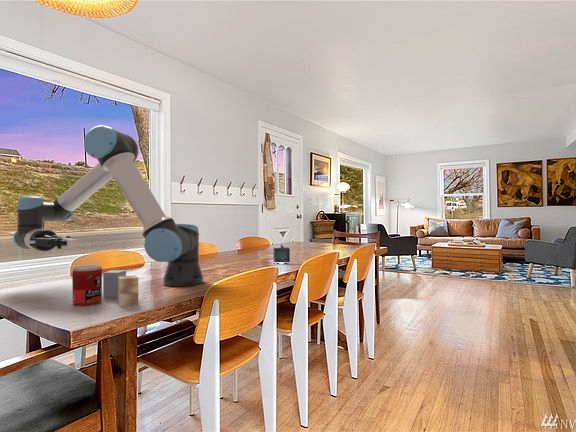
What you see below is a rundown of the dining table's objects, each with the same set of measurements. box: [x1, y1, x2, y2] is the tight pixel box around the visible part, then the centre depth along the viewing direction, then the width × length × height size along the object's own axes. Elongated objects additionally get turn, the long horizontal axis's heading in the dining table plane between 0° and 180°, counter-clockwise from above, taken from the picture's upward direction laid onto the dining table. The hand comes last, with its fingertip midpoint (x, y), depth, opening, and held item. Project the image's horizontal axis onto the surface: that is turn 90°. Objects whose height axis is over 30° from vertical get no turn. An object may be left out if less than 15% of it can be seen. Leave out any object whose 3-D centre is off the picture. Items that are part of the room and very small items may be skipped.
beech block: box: [117, 274, 139, 307], centre depth 104 cm, size 5×5×8 cm
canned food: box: [71, 264, 103, 307], centre depth 104 cm, size 8×8×11 cm
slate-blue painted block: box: [102, 269, 127, 298], centre depth 115 cm, size 5×5×8 cm
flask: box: [272, 244, 291, 263], centre depth 190 cm, size 9×3×11 cm, turn 84°
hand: (74, 243), depth 108 cm, fingers closed
